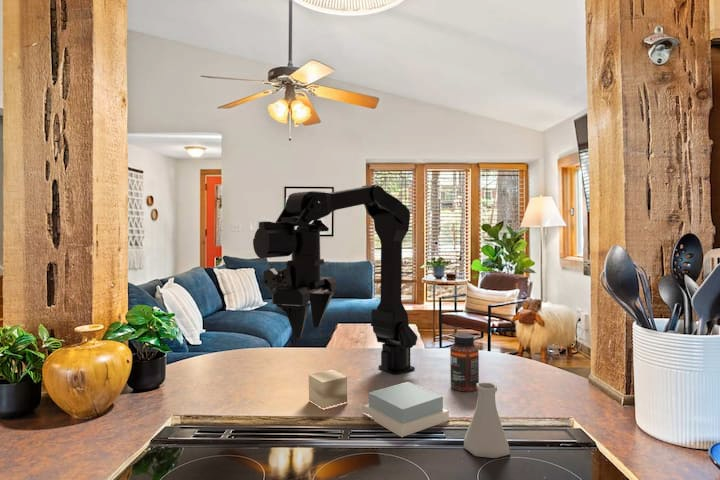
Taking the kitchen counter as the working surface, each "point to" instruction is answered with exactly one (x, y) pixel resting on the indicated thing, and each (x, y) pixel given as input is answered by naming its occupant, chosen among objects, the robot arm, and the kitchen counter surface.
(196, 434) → the kitchen counter surface
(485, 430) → the flask
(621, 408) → the kitchen counter surface
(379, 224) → the robot arm
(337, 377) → the maple cube
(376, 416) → the bottom block
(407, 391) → the top block
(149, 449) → the kitchen counter surface
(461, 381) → the supplement bottle
